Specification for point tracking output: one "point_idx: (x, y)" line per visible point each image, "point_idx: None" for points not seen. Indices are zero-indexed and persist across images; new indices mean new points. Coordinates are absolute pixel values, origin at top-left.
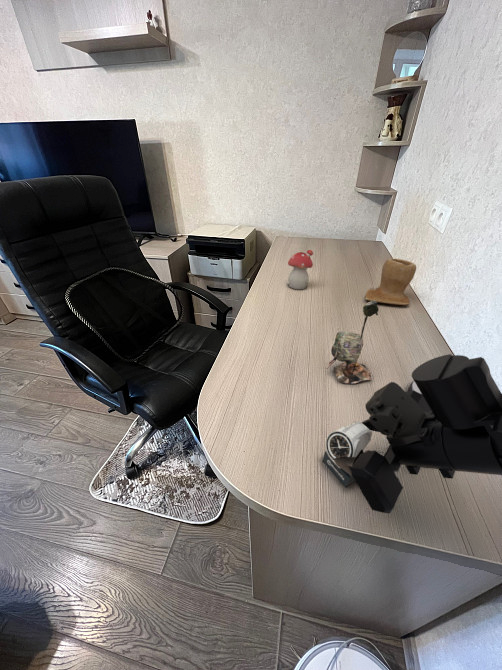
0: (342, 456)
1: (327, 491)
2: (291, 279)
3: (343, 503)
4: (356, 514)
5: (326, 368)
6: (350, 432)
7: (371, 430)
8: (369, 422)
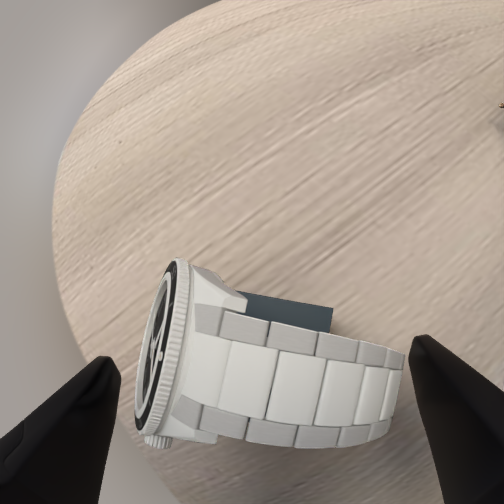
0: (144, 380)
1: None
2: None
3: None
4: (181, 456)
5: (500, 104)
6: (209, 362)
7: (417, 401)
8: (439, 380)
